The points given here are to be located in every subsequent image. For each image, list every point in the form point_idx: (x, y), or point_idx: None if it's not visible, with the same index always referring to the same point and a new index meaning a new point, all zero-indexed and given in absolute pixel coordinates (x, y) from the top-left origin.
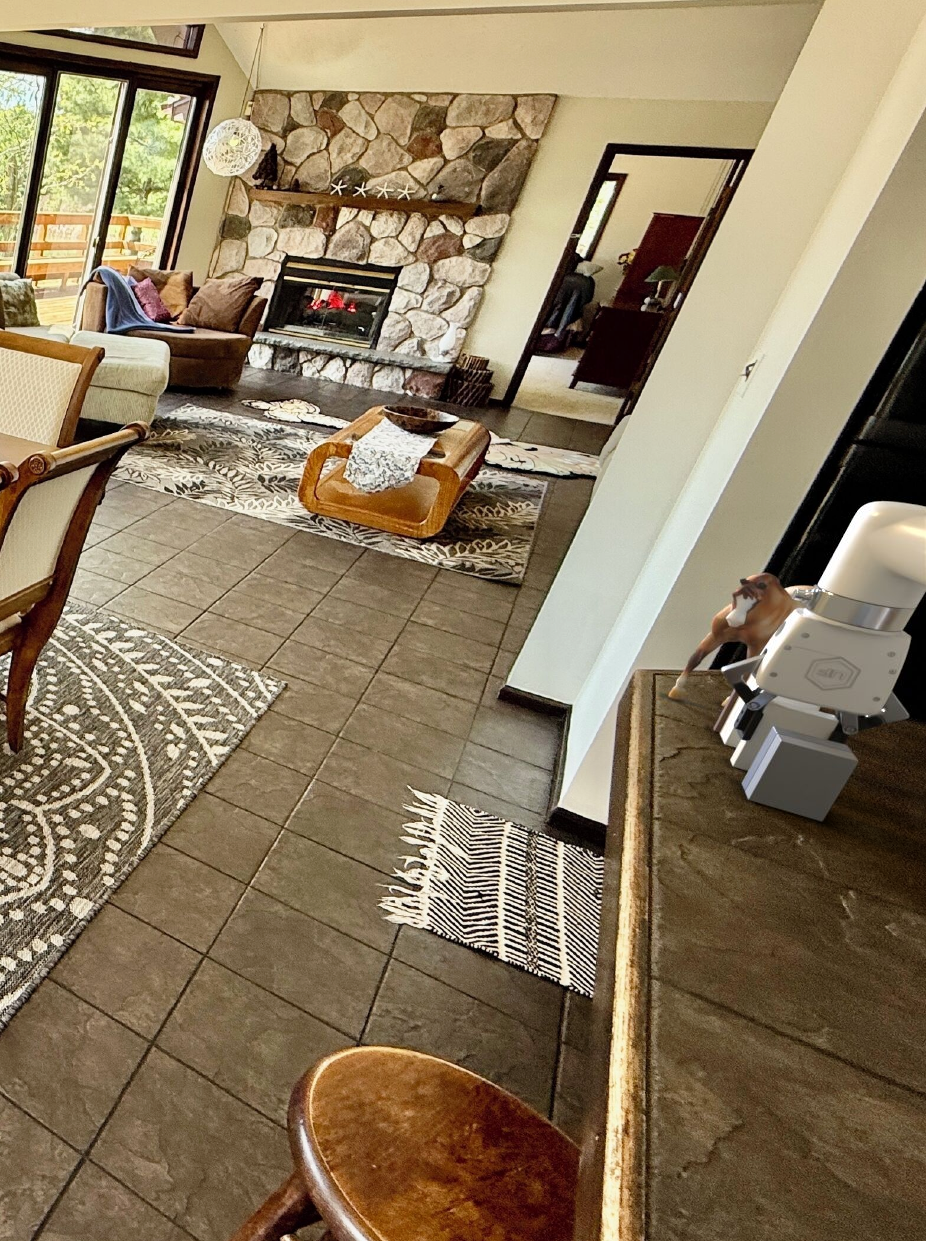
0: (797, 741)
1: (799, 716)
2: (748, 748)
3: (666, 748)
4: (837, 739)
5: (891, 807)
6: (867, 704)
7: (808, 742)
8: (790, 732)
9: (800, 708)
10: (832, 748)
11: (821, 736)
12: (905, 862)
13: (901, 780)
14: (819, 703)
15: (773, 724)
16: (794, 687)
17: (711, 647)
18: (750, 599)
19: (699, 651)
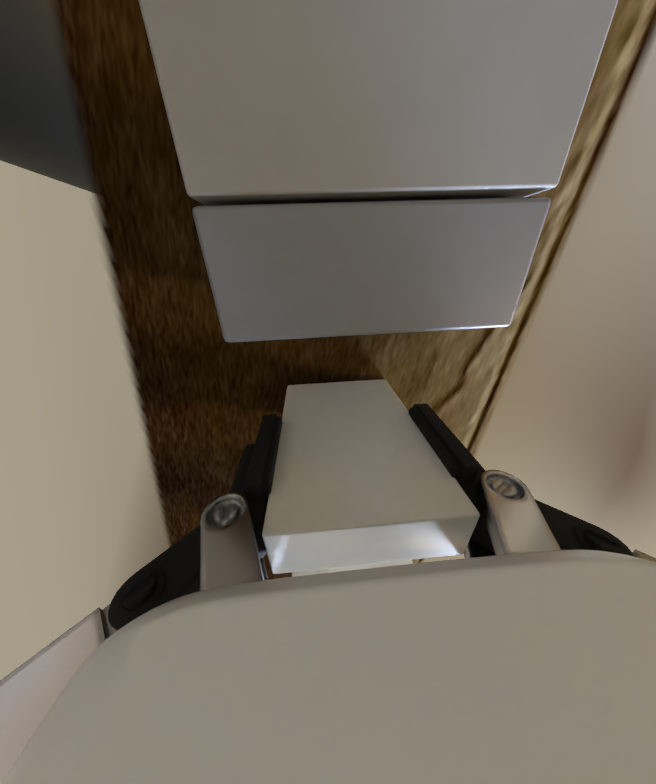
0: (486, 108)
1: (371, 505)
2: (392, 403)
3: (482, 369)
4: (254, 463)
5: (163, 412)
6: (99, 771)
7: (415, 164)
8: (460, 291)
9: (370, 552)
10: (293, 172)
11: (290, 467)
12: (59, 4)
13: (171, 521)
14: (393, 586)
15: (402, 458)
16: (641, 685)
17: None
18: None
19: None
